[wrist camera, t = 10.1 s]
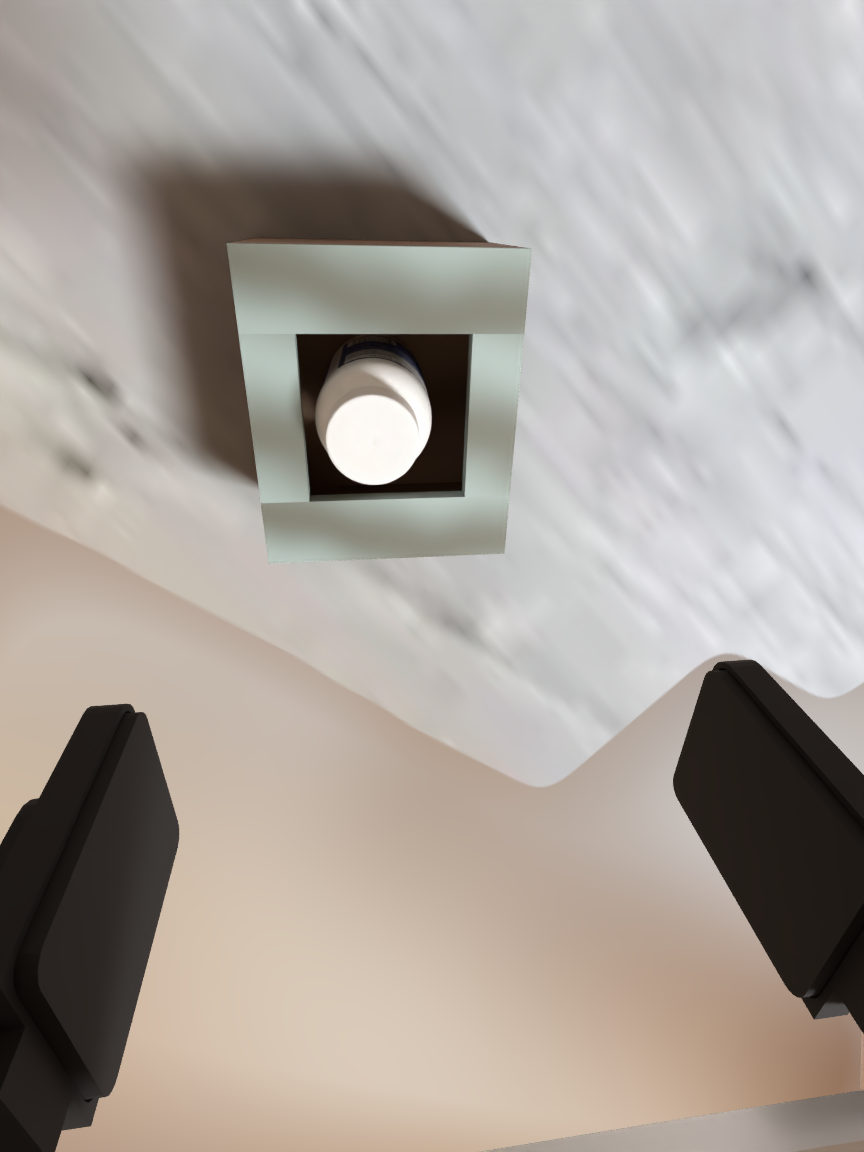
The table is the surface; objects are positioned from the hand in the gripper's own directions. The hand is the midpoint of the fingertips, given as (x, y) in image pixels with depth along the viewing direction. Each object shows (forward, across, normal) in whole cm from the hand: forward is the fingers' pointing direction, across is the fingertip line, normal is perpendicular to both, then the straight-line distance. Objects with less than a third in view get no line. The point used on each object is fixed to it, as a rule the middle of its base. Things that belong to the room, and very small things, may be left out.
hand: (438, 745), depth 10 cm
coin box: (+28, 0, 0) cm, 28 cm away
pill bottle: (+28, 0, 0) cm, 28 cm away
